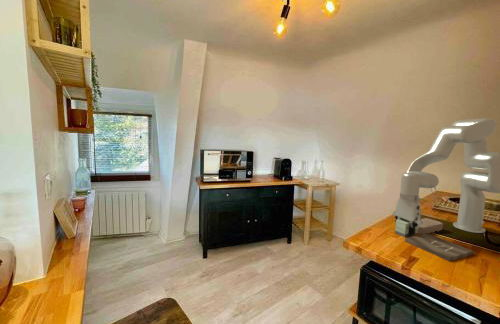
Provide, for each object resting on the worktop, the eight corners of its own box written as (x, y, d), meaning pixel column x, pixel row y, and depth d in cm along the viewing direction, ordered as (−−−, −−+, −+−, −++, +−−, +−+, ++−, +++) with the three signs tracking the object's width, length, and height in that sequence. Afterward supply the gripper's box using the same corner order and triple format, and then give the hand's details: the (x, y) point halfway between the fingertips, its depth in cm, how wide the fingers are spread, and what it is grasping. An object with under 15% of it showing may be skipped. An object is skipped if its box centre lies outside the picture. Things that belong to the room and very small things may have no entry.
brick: (420, 235, 113) (421, 226, 113) (404, 228, 121) (405, 220, 121) (442, 231, 118) (443, 223, 118) (426, 225, 126) (427, 217, 126)
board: (427, 236, 112) (427, 233, 111) (473, 254, 95) (473, 251, 95) (404, 241, 106) (405, 238, 106) (449, 261, 89) (449, 257, 89)
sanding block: (405, 230, 118) (407, 218, 117) (415, 234, 113) (417, 221, 112) (395, 233, 115) (396, 220, 114) (404, 237, 110) (405, 223, 109)
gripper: (432, 201, 105) (428, 238, 107) (397, 192, 121) (394, 224, 123) (421, 202, 102) (417, 240, 105) (387, 193, 118) (384, 226, 120)
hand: (405, 231), depth 114 cm, fingers closed on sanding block, 5 cm apart
